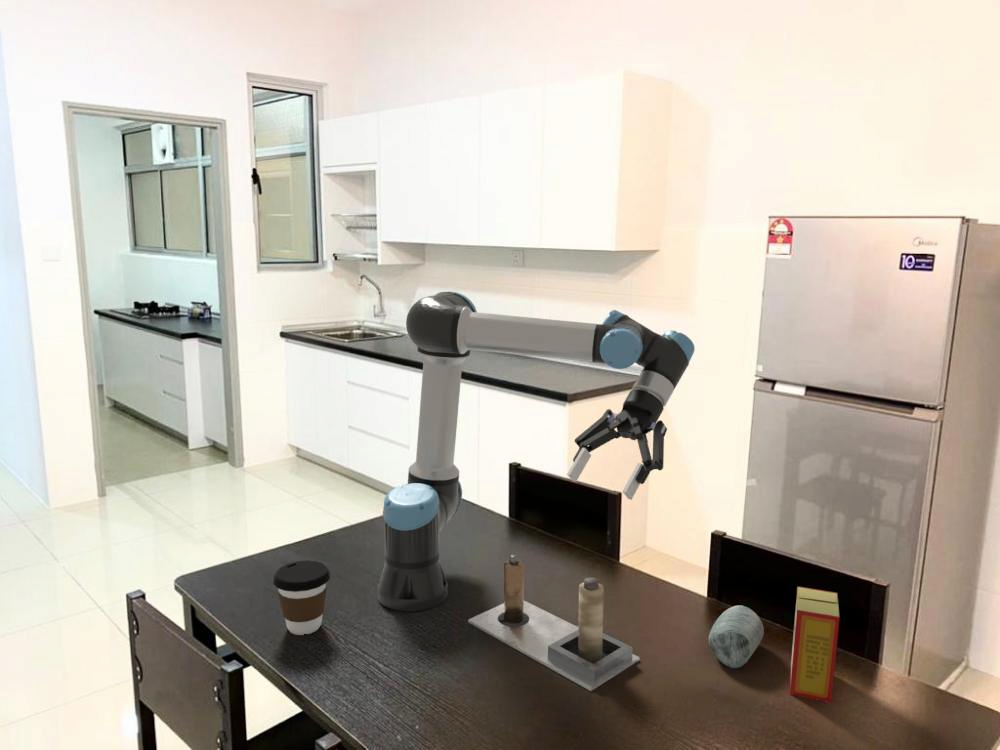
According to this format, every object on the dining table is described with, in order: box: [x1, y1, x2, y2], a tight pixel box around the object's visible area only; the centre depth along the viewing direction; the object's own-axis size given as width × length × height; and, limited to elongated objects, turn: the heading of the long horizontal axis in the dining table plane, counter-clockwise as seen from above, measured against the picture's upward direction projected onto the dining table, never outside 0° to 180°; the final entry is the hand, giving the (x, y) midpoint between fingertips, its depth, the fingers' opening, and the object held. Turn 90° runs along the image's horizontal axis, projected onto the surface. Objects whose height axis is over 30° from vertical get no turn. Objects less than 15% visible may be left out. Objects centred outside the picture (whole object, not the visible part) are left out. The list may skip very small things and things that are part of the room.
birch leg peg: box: [578, 577, 604, 664], centre depth 139 cm, size 4×4×15 cm
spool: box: [708, 605, 765, 669], centre depth 142 cm, size 14×10×10 cm
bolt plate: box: [467, 553, 640, 692], centre depth 146 cm, size 32×14×14 cm, turn 44°
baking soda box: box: [789, 586, 840, 703], centre depth 132 cm, size 10×6×16 cm
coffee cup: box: [272, 560, 331, 636], centre depth 151 cm, size 11×11×12 cm
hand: (598, 486), depth 146 cm, fingers open, 13 cm apart
